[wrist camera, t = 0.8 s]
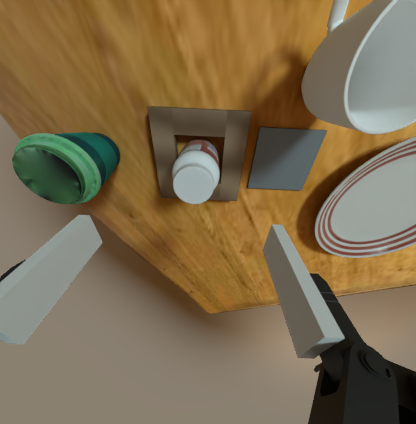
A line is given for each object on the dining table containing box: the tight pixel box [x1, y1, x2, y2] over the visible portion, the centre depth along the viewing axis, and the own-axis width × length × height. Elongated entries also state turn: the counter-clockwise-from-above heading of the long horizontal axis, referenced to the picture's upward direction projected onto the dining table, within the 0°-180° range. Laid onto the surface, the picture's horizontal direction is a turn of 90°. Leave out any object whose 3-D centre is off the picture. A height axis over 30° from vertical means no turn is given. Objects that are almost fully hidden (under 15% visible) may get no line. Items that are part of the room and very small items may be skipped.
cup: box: [12, 132, 120, 204], centre depth 22 cm, size 8×8×12 cm
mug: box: [301, 0, 416, 134], centre depth 15 cm, size 12×9×12 cm
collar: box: [147, 106, 252, 201], centre depth 26 cm, size 14×14×2 cm
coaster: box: [248, 127, 327, 190], centre depth 27 cm, size 10×10×1 cm
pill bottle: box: [172, 139, 220, 204], centre depth 22 cm, size 6×6×11 cm
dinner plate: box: [315, 136, 416, 258], centre depth 30 cm, size 27×27×3 cm
